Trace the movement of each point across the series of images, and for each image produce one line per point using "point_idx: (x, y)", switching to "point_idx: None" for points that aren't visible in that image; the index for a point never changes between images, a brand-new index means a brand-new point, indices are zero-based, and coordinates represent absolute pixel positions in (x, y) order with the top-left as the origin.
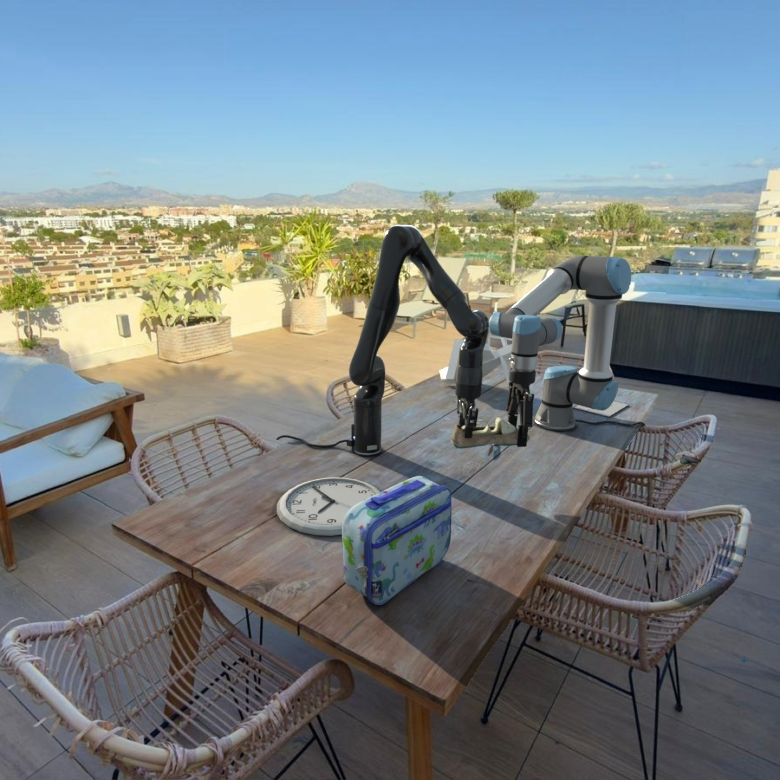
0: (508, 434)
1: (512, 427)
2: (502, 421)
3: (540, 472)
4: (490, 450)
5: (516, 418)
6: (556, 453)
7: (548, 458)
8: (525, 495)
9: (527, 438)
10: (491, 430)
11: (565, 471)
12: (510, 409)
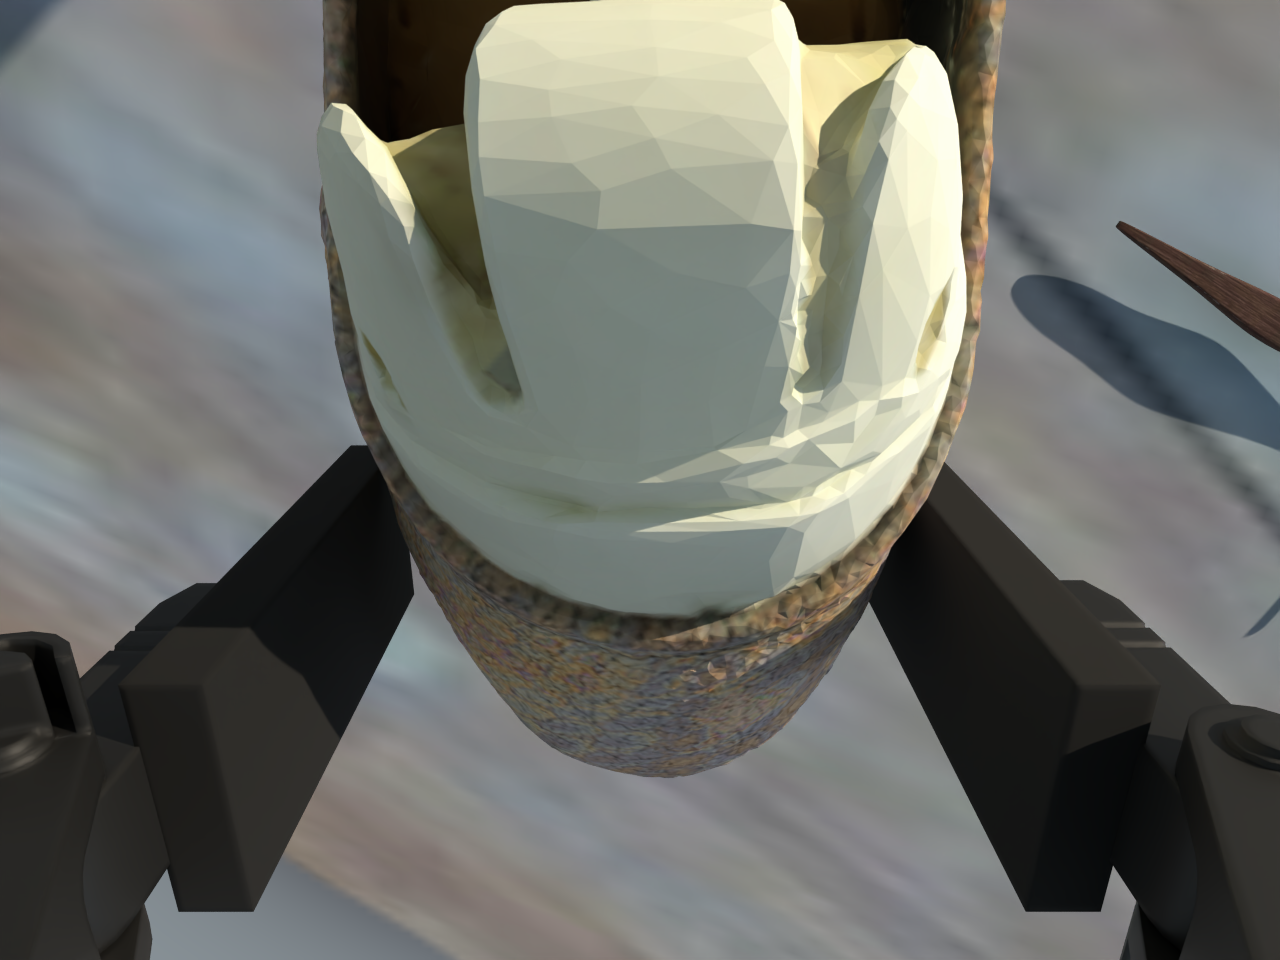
0: (334, 319)
1: (476, 523)
2: (360, 175)
3: None
4: (1236, 299)
5: (1005, 835)
6: (993, 895)
7: (913, 801)
8: (166, 312)
9: (514, 708)
10: (946, 38)
11: (639, 827)
12: (1244, 928)
